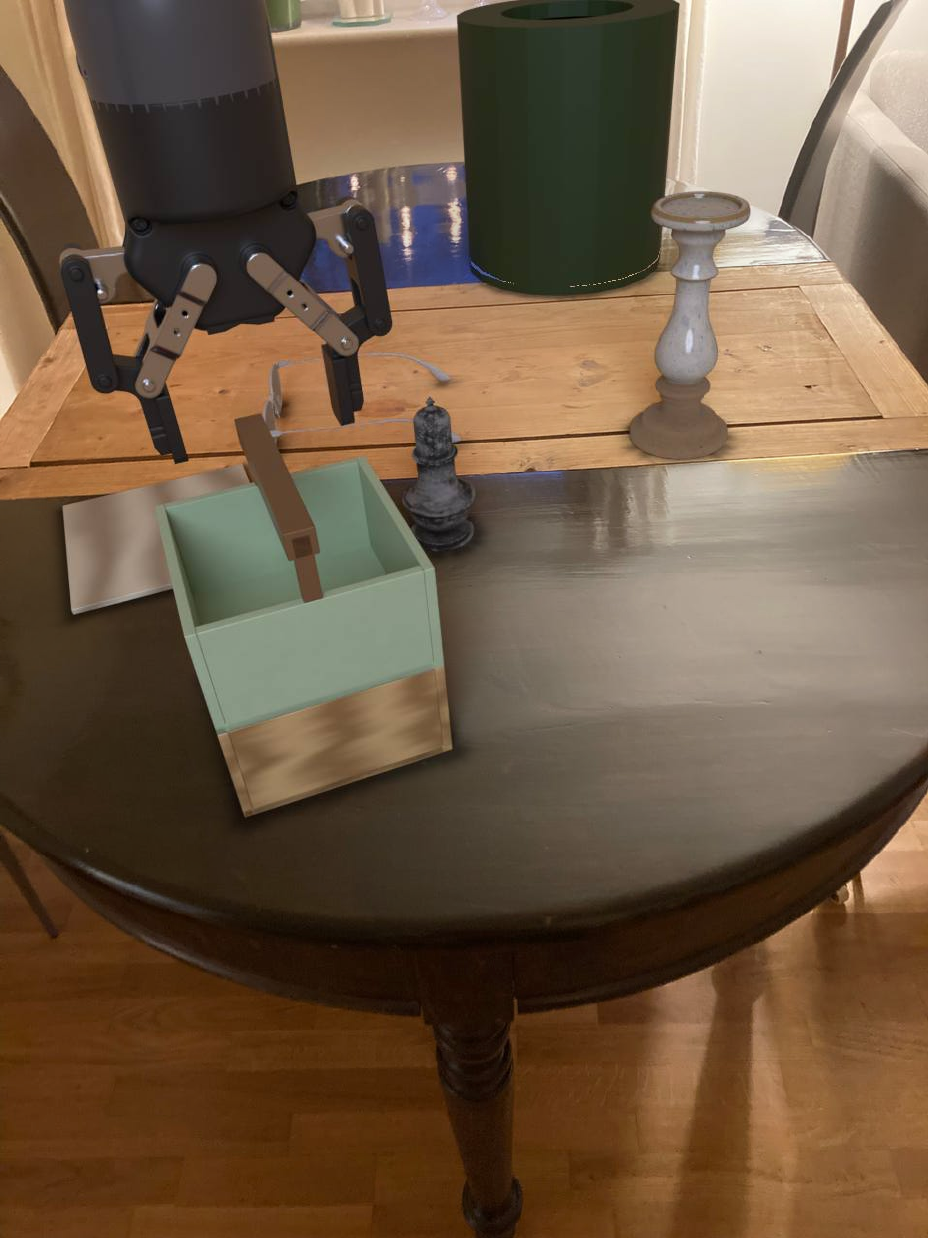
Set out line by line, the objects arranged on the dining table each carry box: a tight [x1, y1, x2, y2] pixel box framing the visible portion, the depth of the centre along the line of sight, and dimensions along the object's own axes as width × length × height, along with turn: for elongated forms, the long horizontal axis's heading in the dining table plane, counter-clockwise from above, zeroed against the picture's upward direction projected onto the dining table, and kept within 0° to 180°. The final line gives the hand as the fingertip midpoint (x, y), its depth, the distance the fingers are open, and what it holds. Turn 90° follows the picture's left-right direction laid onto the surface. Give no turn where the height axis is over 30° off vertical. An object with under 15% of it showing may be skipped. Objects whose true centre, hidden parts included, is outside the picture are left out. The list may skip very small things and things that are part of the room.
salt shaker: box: [401, 396, 477, 552], centre depth 71 cm, size 6×6×12 cm
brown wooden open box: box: [216, 665, 454, 818], centre depth 58 cm, size 13×13×7 cm
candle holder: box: [629, 190, 752, 460], centre depth 78 cm, size 9×9×20 cm
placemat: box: [62, 463, 251, 615], centre depth 77 cm, size 16×16×1 cm
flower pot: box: [456, 0, 681, 296], centre depth 114 cm, size 25×25×28 cm
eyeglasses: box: [262, 352, 463, 444], centre depth 90 cm, size 15×18×4 cm
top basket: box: [154, 412, 445, 735], centre depth 52 cm, size 13×13×11 cm
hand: (264, 436), depth 47 cm, fingers open, 8 cm apart
